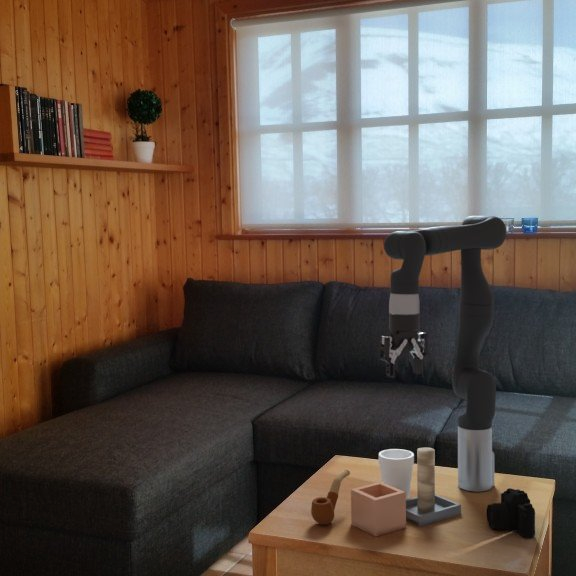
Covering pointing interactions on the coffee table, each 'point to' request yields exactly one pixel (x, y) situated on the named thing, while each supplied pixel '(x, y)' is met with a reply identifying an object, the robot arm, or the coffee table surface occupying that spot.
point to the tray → (442, 511)
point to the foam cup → (397, 468)
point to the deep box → (378, 508)
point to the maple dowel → (425, 480)
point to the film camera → (513, 513)
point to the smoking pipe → (327, 502)
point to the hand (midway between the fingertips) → (403, 375)
